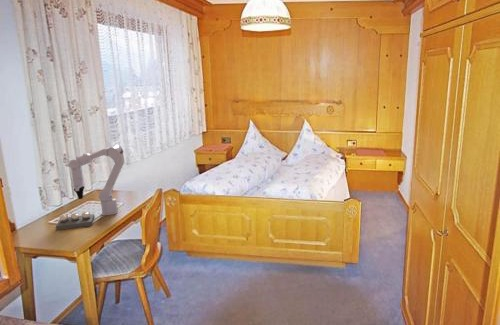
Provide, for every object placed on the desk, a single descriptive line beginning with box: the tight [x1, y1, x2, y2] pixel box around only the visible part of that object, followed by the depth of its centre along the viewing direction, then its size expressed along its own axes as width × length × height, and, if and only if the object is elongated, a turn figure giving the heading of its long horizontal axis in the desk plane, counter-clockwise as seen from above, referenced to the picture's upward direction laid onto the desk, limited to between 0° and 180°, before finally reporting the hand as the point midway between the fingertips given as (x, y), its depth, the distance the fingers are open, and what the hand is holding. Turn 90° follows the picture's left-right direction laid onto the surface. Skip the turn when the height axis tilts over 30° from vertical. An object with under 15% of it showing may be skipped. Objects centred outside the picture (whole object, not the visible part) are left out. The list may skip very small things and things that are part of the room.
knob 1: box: [59, 214, 69, 222], centre depth 219 cm, size 4×4×6 cm
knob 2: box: [81, 211, 91, 220], centre depth 222 cm, size 4×4×6 cm
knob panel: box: [55, 213, 95, 231], centre depth 221 cm, size 19×12×2 cm, turn 105°
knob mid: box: [70, 212, 80, 221], centre depth 221 cm, size 4×4×6 cm
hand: (80, 198), depth 234 cm, fingers closed
